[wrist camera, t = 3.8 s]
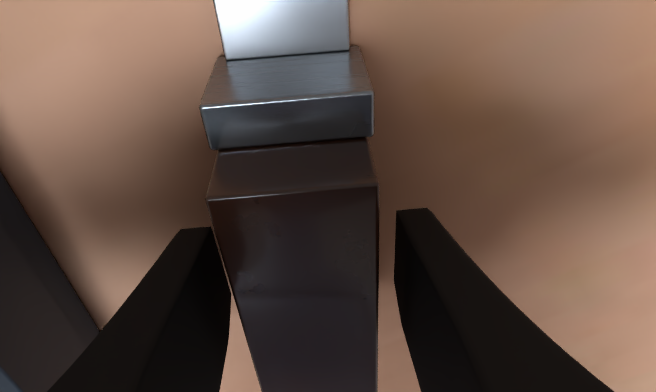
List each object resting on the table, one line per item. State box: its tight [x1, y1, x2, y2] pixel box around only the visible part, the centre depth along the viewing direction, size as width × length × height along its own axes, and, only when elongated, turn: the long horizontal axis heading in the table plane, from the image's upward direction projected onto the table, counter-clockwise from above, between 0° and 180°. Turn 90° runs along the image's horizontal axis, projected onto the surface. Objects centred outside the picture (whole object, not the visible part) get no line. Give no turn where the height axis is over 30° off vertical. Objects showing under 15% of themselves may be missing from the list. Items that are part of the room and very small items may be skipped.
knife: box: [199, 0, 379, 392], centre depth 7 cm, size 3×12×3 cm, turn 4°
